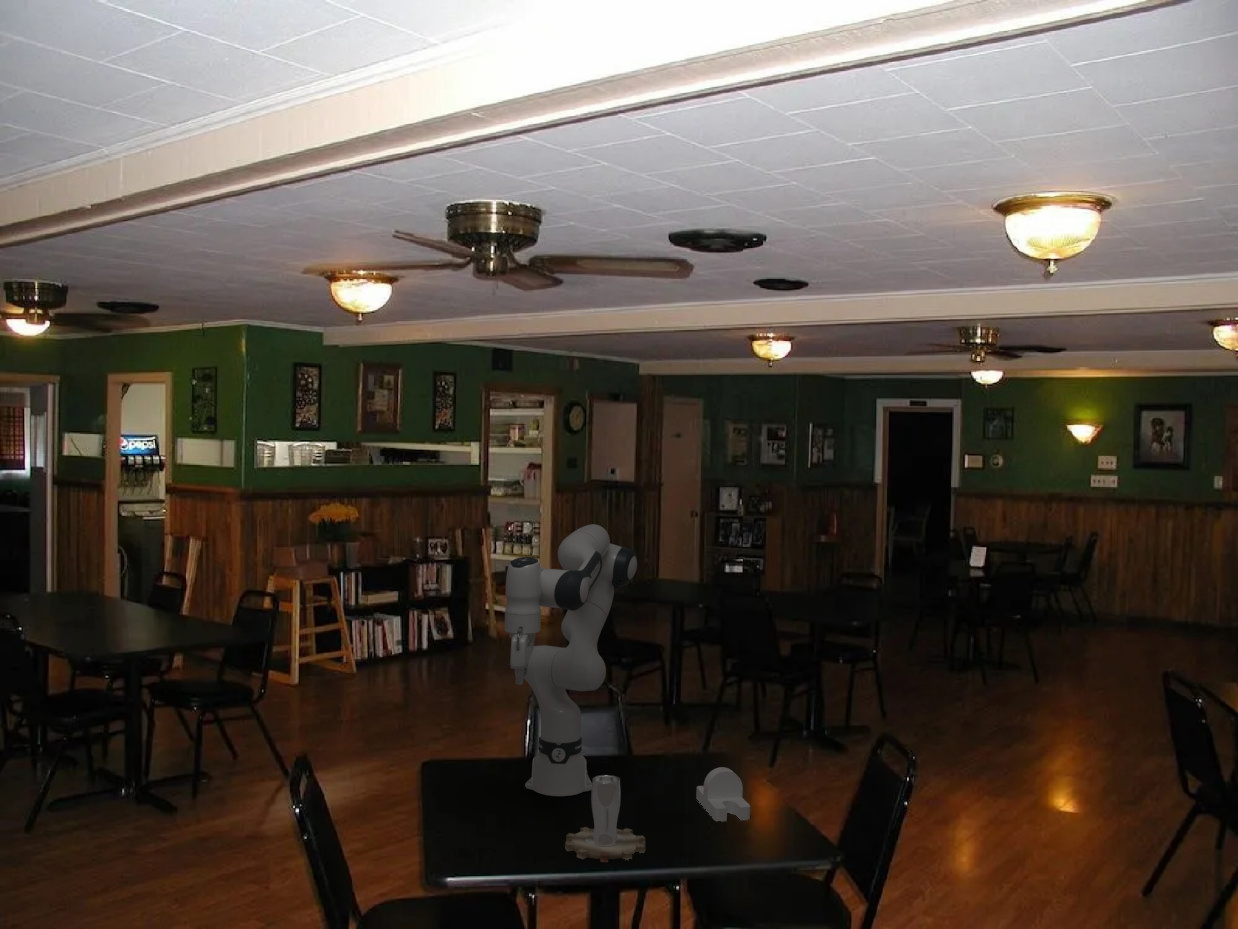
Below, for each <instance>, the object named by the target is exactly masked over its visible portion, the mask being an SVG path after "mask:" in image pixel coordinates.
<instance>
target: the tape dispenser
mask: <svg viewBox="0 0 1238 929" xmlns="http://www.w3.org/2000/svg"><path fill="white" fill-rule="evenodd" d="M743 787H744V785H743V783H742V780H741V778H740V777H739V776H738V774H736V773H735V772H734V771H733V770H732V769H730V768H728V767H723V766H722V767H721V766H720V767H717V768H713V769H712V770H711V771H710V772H708V773H707V775H706V777H705V778H704V782H703V785H698V786H696V795H695V797H696V799H697V800H698V801H699V802H698V801H697V800H696V801H697V802H698V803H699V804H700V803H701V804H700V806H701V805H702V806H703V807H702V806H701V807H702V808H703V809H704V810H705V809H706V810H705V811H706V812H708V813H709V814H708V813H707V814H708V815H709V816H710V817H711V816H712V817H711V818H712V820H713V821H715V822H718V821H721V822H727V821H728V820H727V818H728V814H727V813H730V814H731V815H734V816H735V815H736V816H737V817H738V818H739V819H740V820H739V819H738V818H737V817H736V816H735V817H736V818H737V819H738V820H739V821H748V819H749V820H750V819H751V805H750V804H749V803H748V801H746V800H745V799H744V798H743Z"/></svg>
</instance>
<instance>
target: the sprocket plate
mask: <svg viewBox="0 0 1238 929" xmlns="http://www.w3.org/2000/svg"><path fill="white" fill-rule="evenodd" d="M579 830H580V831H578V832H577V833H573V832H572V833H570V832H568V833H567V834H566V835H565V837H566V840H565V843H564V849H565V850H566V852H573V851H574V852H575V853H576V858H578V859H581V860H585V859H586V858H590V859H596V860H599V862H600V863H609V860H618V859H619V860H620V859H623V860H624V859H625V860H624V861H626V860H627V861H630V860H629V859H631V860H633V855H635V854H636V853H635V852H639V853H638V854H641V853H643V854H644V853H645V852H646V837H645V836H644V835H643V834H642V835H636V834H634V833H633V831H634V830H633V829H630V828H627V827H626V828H624V829H619V828H617V837H618V843H617V844H616V845H613V846H598V845H595V844H594V843H593V842H592V839H593V834H594V828H589V827H588V826H584V827H580V828H579ZM634 853H635V854H634ZM632 854H633V855H632Z"/></svg>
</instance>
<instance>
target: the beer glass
mask: <svg viewBox="0 0 1238 929" xmlns="http://www.w3.org/2000/svg"><path fill="white" fill-rule="evenodd" d="M591 782H592V790H591V791H590V792H591V797H590V801H591V803H590V804H591V810H592V817H593V823H594V824H593V825H594V828H593V829H594V834H593V839H592V842H593V843H594V844H595V845H598V846H613V845H616V844H617V843H618V837H617V829H618V828H617V826H618V825H617V823H618V820H619V819H618V818H619V814H620V807H621V798H622V797H621V796H622V795H621V791H622V790H621V778H620V777H619V776H615V775H611V774H609V775H608V774H602V775H596V776H594V777H592V781H591Z"/></svg>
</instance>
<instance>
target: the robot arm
mask: <svg viewBox="0 0 1238 929" xmlns="http://www.w3.org/2000/svg"><path fill="white" fill-rule="evenodd" d="M557 557H558V558H557V560H558V562H559V565H560V566H561V568H562V569H558V568H544V567H543V566H541V564H540V561H539V559H537V558H536V557H531V556H522V557H517V558H514V559H512V560H510V562H509V563H508V567H507V572H506V578H505V579H506V580H505V598H506V606H505V610H504V632H506V633H508V634H509V639H511V642H510V660H509V661H510V663H509V665H510V669H511V670H512V669H513V670H514V677H515V685H516V686H517V685H519V686H520V685H521V686H522V685H523V684H524V680H525V681H526V682H527V683H528V685H529V686H530V688H531V689H532V691H533V692H534V695H535V698H536V700H537V704H538V707H539V716H540V720H539V721H540V726H539V728H540V731H539V732H540V734H539V737H538V741H537V746H538V749H537V750H538V753H537V754H536V755H535V756H534V757H533V759H532V765H531V766H532V767H531V777H530V778H529V779H528V780H527V781H526V782H525V784H524V788H525V787H526V788H525V789H528V790H532V791H534V792H535V793H538V794H541V795H544V796H551V797H567V796H568V797H569V796H574V795H575V796H576V795H578V794H581V793H583V792H589V791H590V792H591V791H592V781H591V779H590V777H589V774H588V770H587V758H585V756H584V755H583V754H582V750H583V749H582V748H583V739H582V737H581V728H582V727H581V721H582V713H581V709H580V707H579V705H578V704H576V703H575V702H574V701H573V700H572V699H571V698H570V696H569V695H568V693H567V690H570V691H577V692H587V691H588V692H589V691H590V692H591V691H596V690H598V689H599V688H600V687H601V686H602V684H603V683H604V681H605V679H606V673H607V669H606V668H607V667H606V663H605V661H604V659H603V658H602V656H601V655H600V654H599V651H598V641H599V637H600V635H601V631H602V630H603V628H604V625H605V623H606V621H607V618H608V616H609V613H610V611H611V607H612V603H613V600H614V595H615V591H618V590H621V589H622V587H624V586H627V584H629V583H630V582H631V581H632V580H633V578H634V577H635V574H636V573H637V569H638V556H637V555H636V552H635V551H634V550H632V549H630V548H628V547H626V546H619V545H617V544H615V543H614V544H613V543H611V539H610V535H609V534H608V532H607V529H605V528H604V527H602V526H601V525H599V524H593V523H592V524H591V523H590V524H587V525H584V526H581V527H580V528H578V529H577V528H576V530H574V531H573V532H571V533H570V534H569V535H567V536H566V537H565V538H563V540H562V541H561V543H560V545H559V547H558V550H557ZM541 607H545V608H555V609H562V610H567V611H566V613H565V614H564V617H563V620H562V621H561V624H560V625H561V626H560V627H561V633H562V635H563V636H564V638H565V639H566V640H567V641H568V642H569V643H568V645H567V646H566V647H559V646H555V645H554V646H552V645H546V644H544V645H543V644H541V645H535V640H536V634H537V633H539V632H541V629H542V628H541V624H542V623H541V621H542V620H541V618H542V615H541V614H542V609H541Z"/></svg>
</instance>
